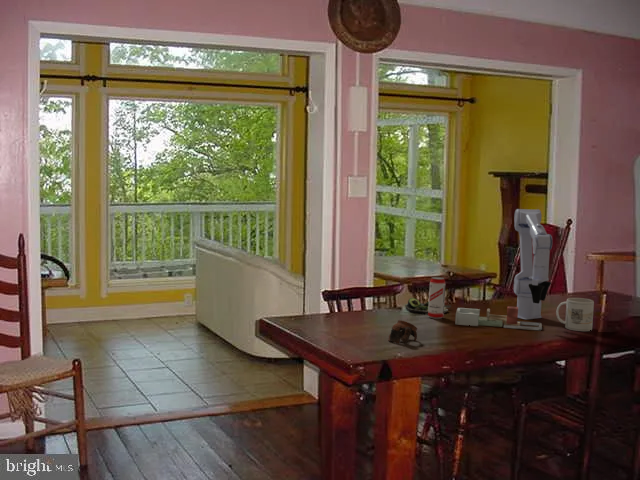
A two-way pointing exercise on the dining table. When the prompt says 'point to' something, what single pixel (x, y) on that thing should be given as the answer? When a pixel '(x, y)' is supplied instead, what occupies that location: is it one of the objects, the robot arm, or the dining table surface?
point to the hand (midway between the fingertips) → (538, 301)
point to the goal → (467, 316)
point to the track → (499, 324)
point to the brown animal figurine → (402, 332)
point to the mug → (578, 314)
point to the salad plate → (419, 306)
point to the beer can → (436, 298)
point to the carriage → (509, 319)
